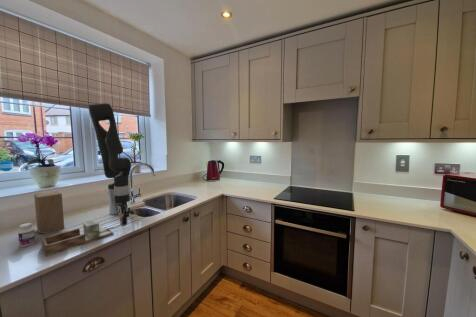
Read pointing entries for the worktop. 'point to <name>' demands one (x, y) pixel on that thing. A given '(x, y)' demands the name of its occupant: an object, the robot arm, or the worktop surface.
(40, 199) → the wooden block
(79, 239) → the lane
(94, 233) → the string block
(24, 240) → the pill bottle
